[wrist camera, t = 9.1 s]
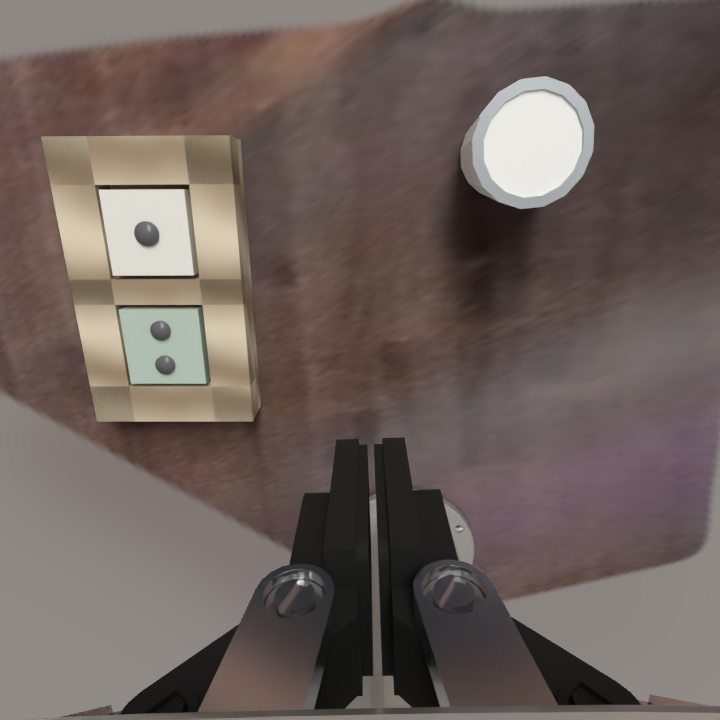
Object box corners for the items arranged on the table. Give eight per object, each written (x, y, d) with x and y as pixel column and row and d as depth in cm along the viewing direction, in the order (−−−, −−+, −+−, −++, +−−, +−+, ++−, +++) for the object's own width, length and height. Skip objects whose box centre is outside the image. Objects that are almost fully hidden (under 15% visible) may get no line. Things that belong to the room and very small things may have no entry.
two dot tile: (214, 373, 38) (205, 384, 36) (143, 373, 38) (129, 384, 36) (207, 302, 36) (196, 310, 34) (132, 303, 37) (117, 310, 34)
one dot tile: (203, 270, 36) (192, 275, 33) (127, 270, 36) (111, 276, 33) (195, 189, 34) (182, 189, 32) (114, 189, 34) (96, 189, 32)
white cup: (487, 226, 35) (516, 234, 29) (431, 147, 34) (447, 136, 27) (569, 161, 34) (619, 154, 27) (514, 75, 32) (553, 45, 26)
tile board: (260, 405, 40) (253, 421, 37) (116, 405, 40) (97, 421, 38) (240, 140, 34) (229, 135, 31) (68, 141, 34) (41, 136, 31)
